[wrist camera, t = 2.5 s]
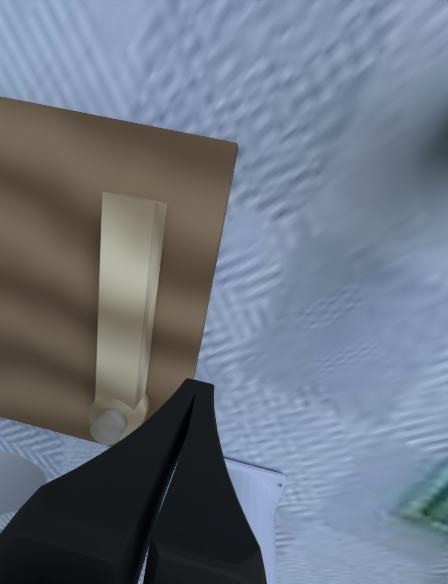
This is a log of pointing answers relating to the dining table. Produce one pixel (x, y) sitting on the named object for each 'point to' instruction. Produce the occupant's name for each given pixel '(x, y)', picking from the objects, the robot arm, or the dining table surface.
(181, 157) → the base board
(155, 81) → the dining table surface
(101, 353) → the swing bar
